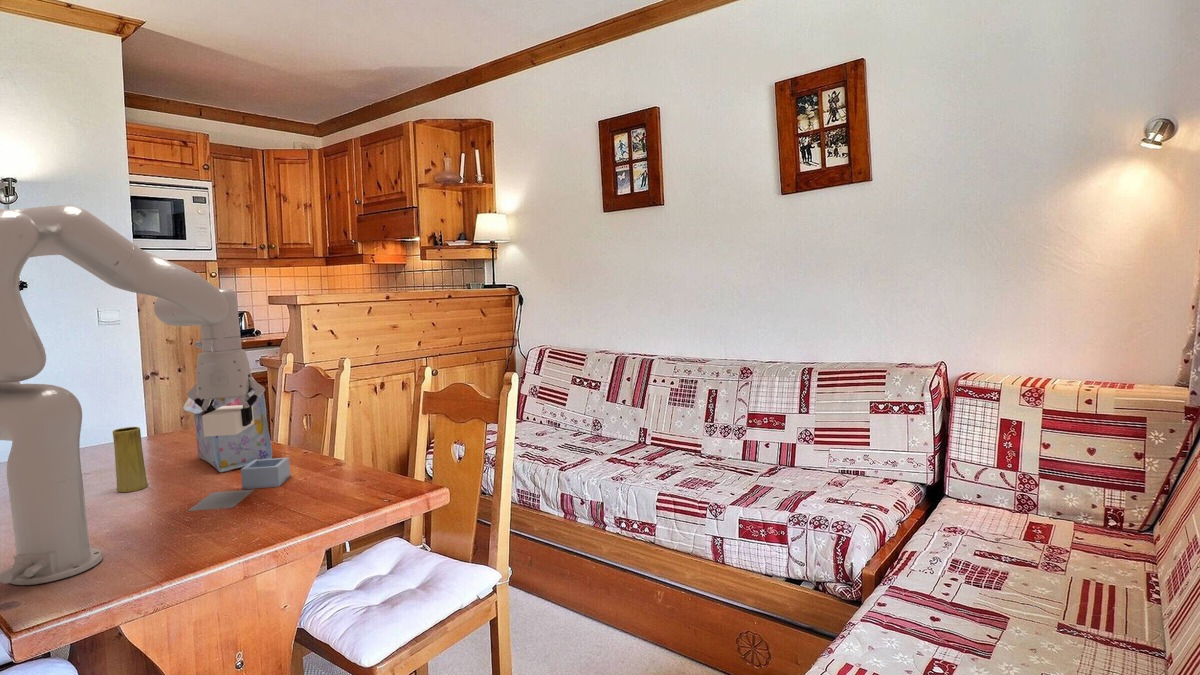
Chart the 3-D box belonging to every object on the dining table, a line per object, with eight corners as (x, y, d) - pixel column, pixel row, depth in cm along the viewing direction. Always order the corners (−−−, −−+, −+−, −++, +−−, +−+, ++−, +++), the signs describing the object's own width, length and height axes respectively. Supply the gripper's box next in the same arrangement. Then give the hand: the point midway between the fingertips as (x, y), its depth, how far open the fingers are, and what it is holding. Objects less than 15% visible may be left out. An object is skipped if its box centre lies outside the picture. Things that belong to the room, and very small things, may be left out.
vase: (131, 493, 153) (125, 432, 152) (109, 492, 154) (103, 432, 153) (154, 484, 159) (148, 426, 158) (132, 484, 160) (126, 426, 159)
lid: (236, 434, 142) (234, 414, 142) (204, 436, 142) (202, 415, 141) (254, 423, 152) (252, 404, 152) (224, 425, 151) (222, 406, 151)
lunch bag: (185, 460, 181) (176, 363, 178) (252, 447, 192) (245, 356, 189) (204, 477, 164) (195, 370, 162) (277, 462, 175) (269, 362, 173)
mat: (233, 509, 140) (232, 507, 140) (187, 512, 139) (187, 510, 139) (254, 491, 152) (254, 489, 152) (212, 494, 150) (212, 492, 150)
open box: (279, 488, 153) (277, 466, 153) (242, 490, 152) (240, 469, 152) (290, 477, 161) (289, 457, 161) (255, 480, 160) (254, 459, 160)
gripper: (170, 349, 140) (179, 432, 142) (257, 345, 142) (265, 427, 144) (187, 345, 147) (195, 424, 149) (269, 341, 150) (277, 419, 152)
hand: (229, 425), depth 147 cm, fingers closed on lid, 6 cm apart
